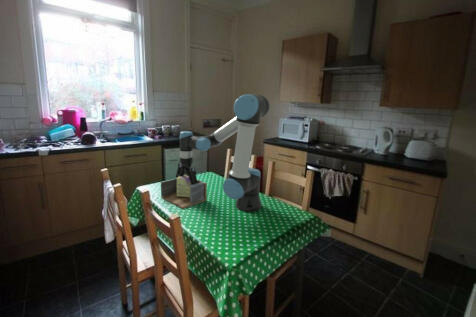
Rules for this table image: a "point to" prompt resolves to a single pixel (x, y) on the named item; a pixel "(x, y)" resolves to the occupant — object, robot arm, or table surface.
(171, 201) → the grey brown open container
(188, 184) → the box
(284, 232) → the table surface
